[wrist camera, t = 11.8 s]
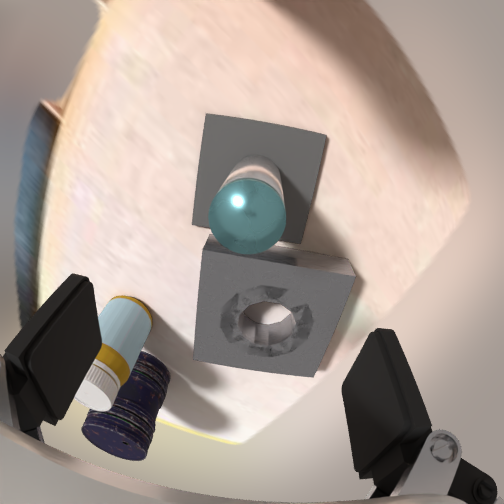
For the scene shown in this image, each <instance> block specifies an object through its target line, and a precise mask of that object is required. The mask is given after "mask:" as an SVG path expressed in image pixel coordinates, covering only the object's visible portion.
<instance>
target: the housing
mask: <svg viewBox="0 0 504 504" xmlns="http://www.w3.org/2000/svg"><path fill="white" fill-rule="evenodd" d="M355 278H356V275H355V273H354V271H353V269H352V267H351V265H350V262H349V260H348V259H346V258H340V257H335V256H329V255H324V254H318V253H313V252H308V251H302V250H297V249H291V248H285V247H280V246H274V245H273V246H272V247H271V248H269V249H267V250H265V251H263V252H260V253H256V254H240V253H236V252H233V251H231V250H229V249H227V248H226V247H224V246H223V245H222V244H220V243H219V242H218V240H217V239H216V238H215V237H214V235H212V234H210V235H209V237H208V239H207V241H206V243H205V246H204V248H203V251H202V260H201V270H200V280H199V291H198V302H197V314H196V326H195V340H194V354H193V360H197V361H202V362H207V363H213V364H218V365H224V366H230V367H236V368H242V369H248V370H255V371H262V372H269V373H277V374H285V375H294V376H304V377H314V375H315V373H316V371H317V369H318V367H319V365H320V362H321V360H322V358H323V356H324V354H325V351H326V349H327V347H328V345H329V342H330V340H331V338H332V335H333V333H334V331H335V328H336V326H337V324H338V321H339V319H340V316H341V314H342V311H343V309H344V306H345V304H346V301H347V299H348V296H349V294H350V291H351V288H352V286H353V283H354V280H355ZM263 301H267V302H273V303H279V304H281V305H283V306H284V307H285V308H287V309H288V310H290V311H291V314H290V315H288V316H287V317H286V318H285V319H284V320H283V321H281V322H278V323H274V324H270V325H266V324H260V323H255V322H254V321H252V320H251V319H249V318H248V317H246V316H245V314H244V312H243V311H244V310H245V309H246V308H247V307H248V306H249V305H252V304H256V303H259V302H263Z"/></svg>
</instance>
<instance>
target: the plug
mask: <svg viewBox="0 0 504 504" xmlns="http://www.w3.org/2000/svg"><path fill="white" fill-rule="evenodd" d="M208 219H209V225H210V229H211V231H212V233H213V235H214V237H215V238H216V239H217V240H218V242H219V243H220V244H222V245H223V246H224V247H226V248H227V249H229V250H231V251H233V252H236V253H240V254H256V253H260V252H263V251H265V250H267V249H269V248H271V247H272V246H273V245H274V244H276V243H277V241H278V240H279V239H280V238H281V236H282V234H283V232H284V229H285V226H286V211H285V204H284V197H283V190H282V183H281V176H280V172H279V169H278V167H277V166H276V164H275V163H274V162H273V161H272V160H270V159H269V158H267V157H264V156H261V155H250V156H247V157H244V158H243V159H241V160H240V161H239V162H238V163H237V164H236V165H235V167H234V168H233V170H232V171H231V173H230V174H229V176H228V177H227V179H226V180H225V182H224V183H223V185H222V186H221V188H220V189H219V191H218V192H217V194H216V196H215V197H214V199H213V201H212V203H211V205H210V208H209V215H208Z"/></svg>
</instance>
